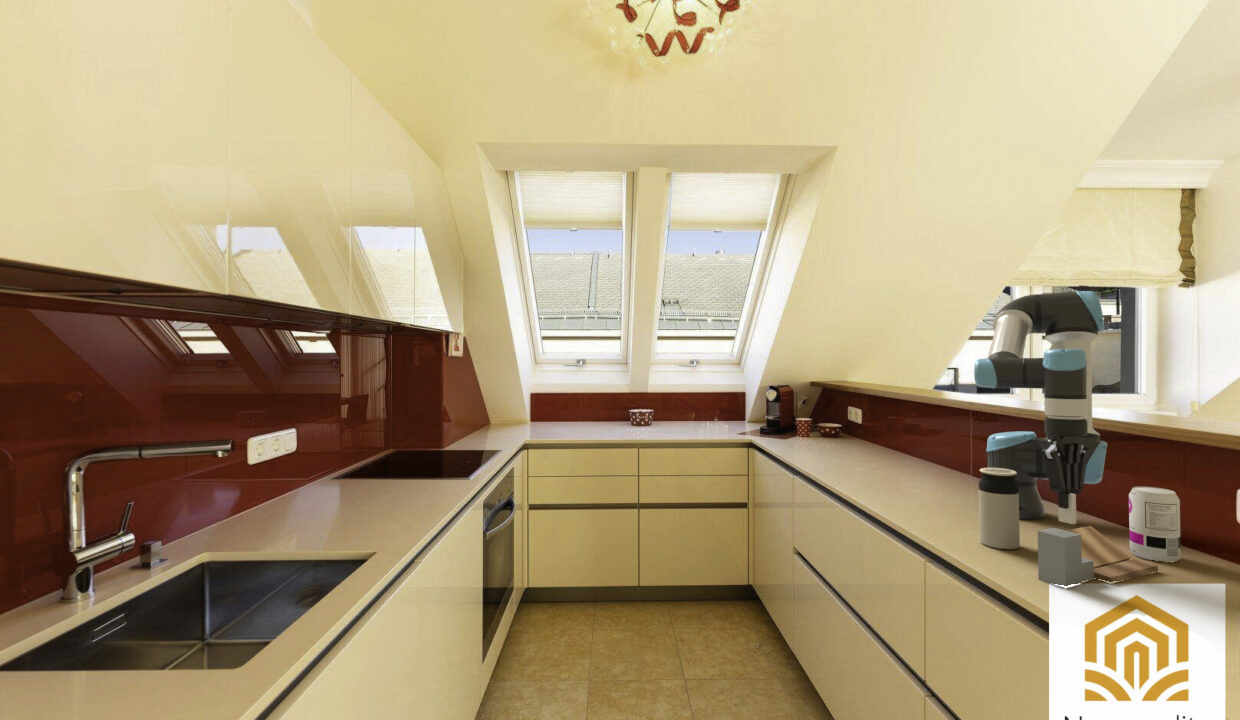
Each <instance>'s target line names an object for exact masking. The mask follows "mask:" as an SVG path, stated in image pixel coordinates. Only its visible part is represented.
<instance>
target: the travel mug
mask: <svg viewBox="0 0 1240 720" xmlns="http://www.w3.org/2000/svg"><path fill="white" fill-rule="evenodd" d="M979 472H980V475H981V477H980V480H979V481H978V510H979V511H978V516H979V519H978V520H979V543H981V544H983V545H985V546H987V547H989V548H992V549H999V550H1008V551H1011V550H1017V549H1019V548H1020V547H1021V542H1020V541H1021V539H1020V538H1021V537H1020V536H1021V535H1020V519H1019V486H1018V484H1017V483H1016V481H1015V476H1016V475H1017V472H1016V471H1013V470H1009V469H1002V468H988V467H981V468H980V469H979Z"/></svg>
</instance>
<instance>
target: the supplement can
mask: <svg viewBox="0 0 1240 720" xmlns="http://www.w3.org/2000/svg"><path fill="white" fill-rule="evenodd" d="M1180 500H1181V499H1180V498H1179V496H1178V495H1177V493H1176V492H1175V491H1174V490H1170V489H1167V488H1161V487H1154V486H1153V487H1152V486H1133V487H1132V488H1131V490H1130V492H1129V494H1128V515H1129V516H1128V520H1129V521H1128V522H1129V524H1128V525H1129V531H1128V533H1129V551H1130V552H1131V553H1132V554H1133V555H1134V556H1136V557H1138V558H1140V557H1141V558H1142V559H1145V560H1147V559H1148V561H1152V560H1154V561H1153V562H1158V561H1169V562H1170V561H1176V562H1177V561H1179V560H1181V559H1182V557H1181V556H1182V555H1181V554H1182V552H1181V550H1182V549H1181V546H1182V545H1181V510H1180V509H1181V508H1180V507H1181V501H1180ZM1170 563H1171V562H1170Z"/></svg>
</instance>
